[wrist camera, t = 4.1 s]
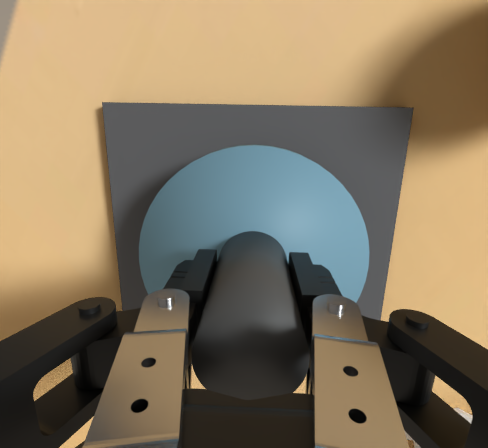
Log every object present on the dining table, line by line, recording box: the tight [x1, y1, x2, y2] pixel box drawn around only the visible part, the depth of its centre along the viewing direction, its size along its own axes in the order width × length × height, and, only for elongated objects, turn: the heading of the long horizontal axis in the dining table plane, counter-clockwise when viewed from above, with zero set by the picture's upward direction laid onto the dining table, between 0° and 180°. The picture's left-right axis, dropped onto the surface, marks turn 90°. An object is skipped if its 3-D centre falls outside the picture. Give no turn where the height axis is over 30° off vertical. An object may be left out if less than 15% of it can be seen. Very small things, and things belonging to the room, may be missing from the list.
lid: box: [139, 144, 369, 400], centre depth 11 cm, size 10×10×7 cm
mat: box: [102, 102, 413, 320], centre depth 16 cm, size 14×14×1 cm
